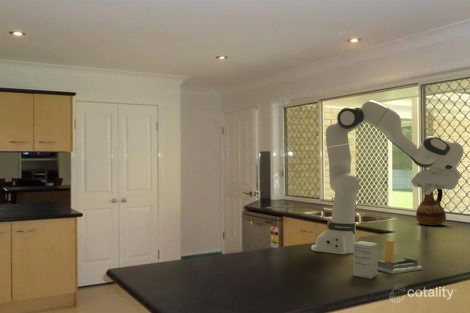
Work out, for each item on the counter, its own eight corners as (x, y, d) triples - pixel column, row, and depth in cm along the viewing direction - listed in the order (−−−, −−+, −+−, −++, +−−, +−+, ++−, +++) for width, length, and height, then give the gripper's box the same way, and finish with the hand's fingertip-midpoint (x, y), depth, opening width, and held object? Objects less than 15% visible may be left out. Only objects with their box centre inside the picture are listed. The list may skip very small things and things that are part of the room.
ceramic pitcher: (410, 223, 322) (411, 183, 323) (432, 222, 328) (432, 183, 329) (429, 227, 304) (430, 184, 304) (452, 226, 310) (452, 185, 310)
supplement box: (360, 271, 173) (360, 240, 173) (378, 275, 168) (378, 243, 168) (352, 275, 167) (352, 243, 167) (370, 279, 163) (371, 245, 163)
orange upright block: (389, 265, 179) (390, 239, 179) (395, 267, 177) (396, 240, 177) (382, 266, 177) (383, 240, 178) (388, 268, 175) (389, 241, 175)
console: (403, 264, 188) (403, 256, 188) (422, 269, 179) (422, 260, 179) (373, 268, 180) (373, 259, 180) (391, 274, 171) (392, 264, 171)
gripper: (417, 165, 200) (402, 186, 195) (458, 166, 182) (442, 190, 177) (423, 175, 202) (409, 196, 197) (464, 177, 184) (449, 200, 179)
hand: (425, 193), depth 187 cm, fingers closed
